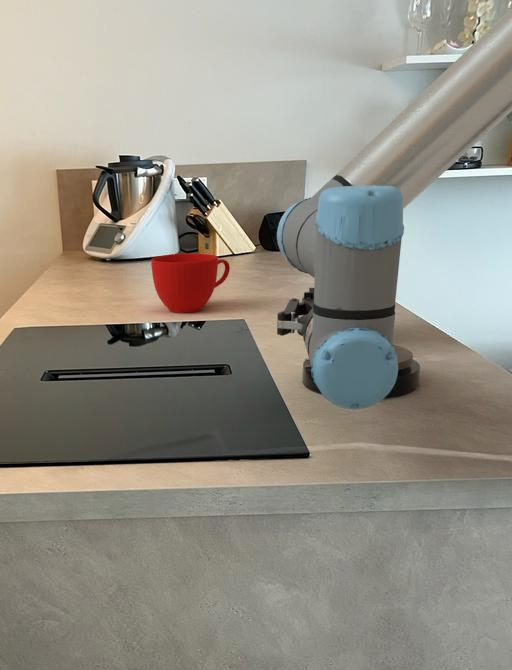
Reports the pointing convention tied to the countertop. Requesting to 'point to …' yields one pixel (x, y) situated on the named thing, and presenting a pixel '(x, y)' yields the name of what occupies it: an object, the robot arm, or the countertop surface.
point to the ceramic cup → (186, 280)
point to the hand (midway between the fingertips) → (322, 297)
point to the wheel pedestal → (402, 386)
